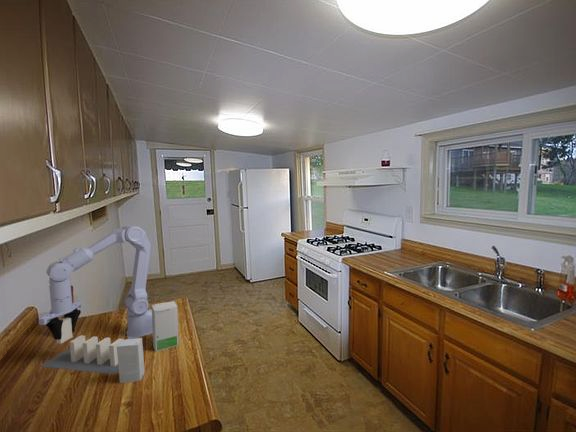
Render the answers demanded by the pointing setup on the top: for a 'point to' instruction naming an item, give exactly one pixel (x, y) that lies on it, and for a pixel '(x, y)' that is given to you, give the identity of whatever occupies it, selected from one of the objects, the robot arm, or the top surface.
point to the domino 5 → (114, 352)
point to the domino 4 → (103, 351)
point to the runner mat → (80, 364)
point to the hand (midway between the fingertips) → (64, 335)
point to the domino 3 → (90, 349)
